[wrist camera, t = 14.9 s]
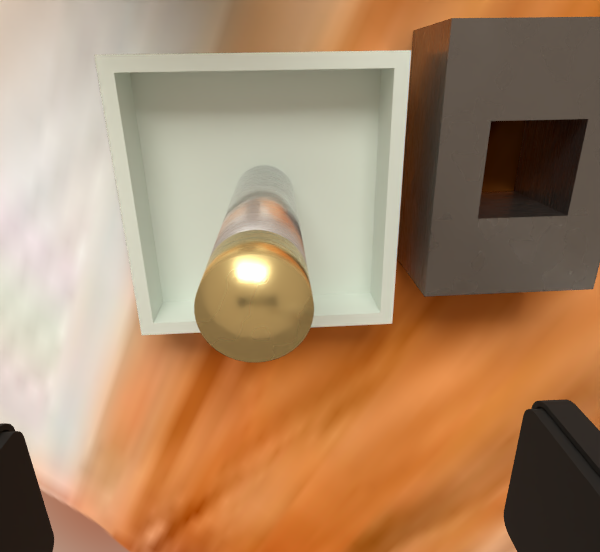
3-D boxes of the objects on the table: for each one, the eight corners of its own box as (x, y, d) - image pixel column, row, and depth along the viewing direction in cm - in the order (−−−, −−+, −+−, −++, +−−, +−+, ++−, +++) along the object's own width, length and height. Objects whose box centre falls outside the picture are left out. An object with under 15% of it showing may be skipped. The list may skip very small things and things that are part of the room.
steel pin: (294, 222, 30) (314, 359, 15) (237, 223, 29) (200, 364, 15) (293, 164, 28) (313, 252, 13) (233, 165, 28) (187, 257, 13)
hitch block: (538, 253, 33) (593, 289, 27) (397, 259, 32) (424, 296, 27) (582, 28, 27) (661, 16, 22) (413, 30, 27) (451, 18, 21)
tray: (378, 296, 33) (392, 323, 30) (155, 306, 32) (141, 335, 29) (391, 54, 27) (411, 50, 24) (118, 58, 26) (93, 54, 23)
